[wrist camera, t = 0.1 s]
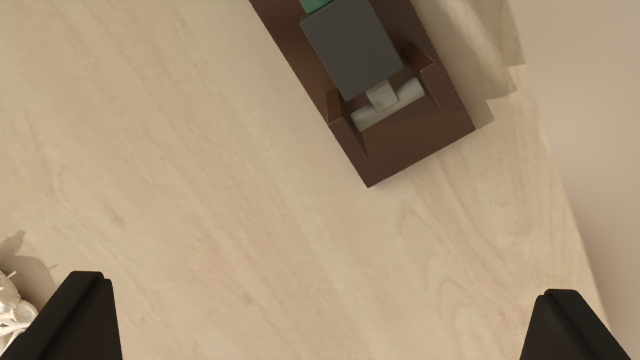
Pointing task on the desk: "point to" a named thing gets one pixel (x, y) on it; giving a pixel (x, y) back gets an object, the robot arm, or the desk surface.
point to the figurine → (13, 311)
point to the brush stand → (389, 133)
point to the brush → (358, 56)
